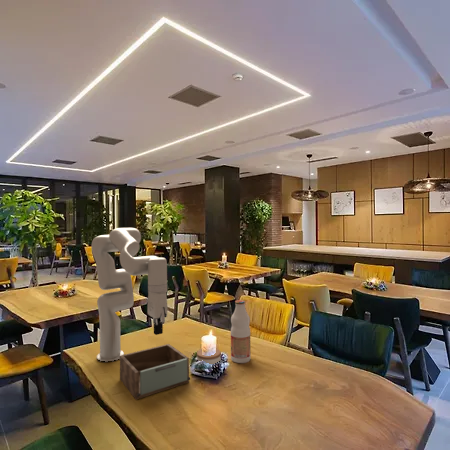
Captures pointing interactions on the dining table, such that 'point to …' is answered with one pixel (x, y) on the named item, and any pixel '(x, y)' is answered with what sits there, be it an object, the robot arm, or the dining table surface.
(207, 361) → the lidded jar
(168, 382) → the panel
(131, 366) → the crate
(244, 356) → the fruit juice
